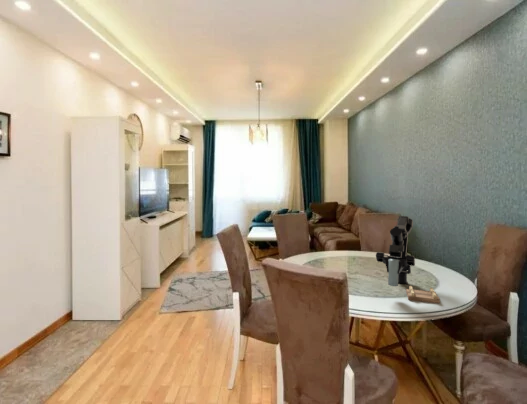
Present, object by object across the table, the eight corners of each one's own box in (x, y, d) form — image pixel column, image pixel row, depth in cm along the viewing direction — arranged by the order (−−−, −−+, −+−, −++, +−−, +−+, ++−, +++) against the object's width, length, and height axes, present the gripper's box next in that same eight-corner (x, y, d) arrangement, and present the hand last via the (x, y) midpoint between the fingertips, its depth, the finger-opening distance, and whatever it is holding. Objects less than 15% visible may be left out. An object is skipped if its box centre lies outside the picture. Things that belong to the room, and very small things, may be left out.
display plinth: (406, 292, 175) (406, 285, 175) (435, 295, 171) (435, 288, 170) (408, 300, 164) (408, 292, 164) (439, 303, 159) (439, 295, 159)
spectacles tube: (386, 283, 169) (387, 258, 168) (396, 283, 169) (397, 258, 168) (389, 286, 164) (390, 260, 163) (399, 286, 164) (400, 261, 163)
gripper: (376, 237, 173) (371, 261, 164) (415, 240, 164) (411, 266, 155) (379, 248, 180) (374, 273, 172) (416, 252, 171) (413, 278, 162)
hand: (392, 272), depth 165 cm, fingers closed on spectacles tube, 5 cm apart
